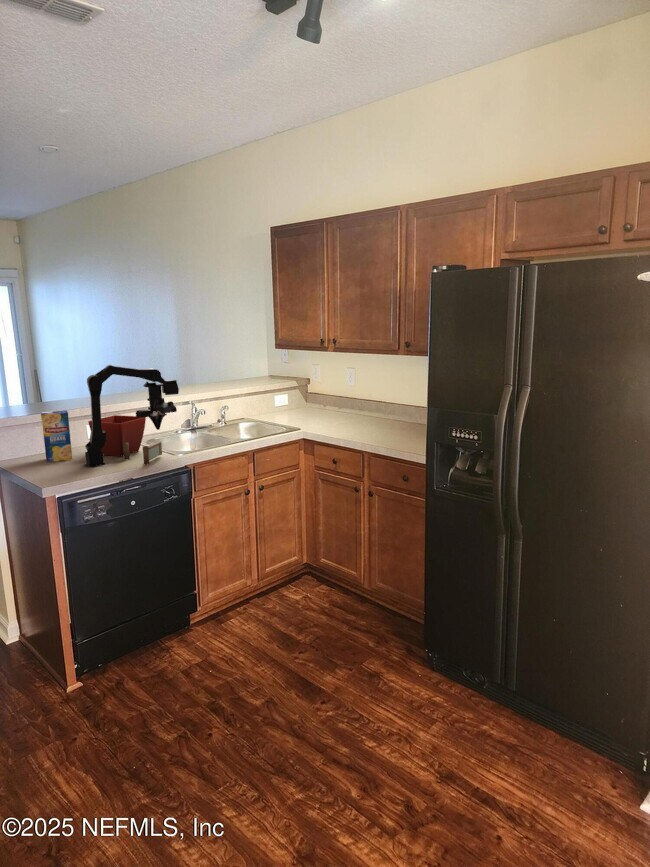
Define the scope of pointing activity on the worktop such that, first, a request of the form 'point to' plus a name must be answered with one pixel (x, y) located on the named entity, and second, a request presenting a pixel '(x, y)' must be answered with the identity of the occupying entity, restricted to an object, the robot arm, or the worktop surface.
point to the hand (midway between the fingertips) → (158, 429)
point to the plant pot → (121, 433)
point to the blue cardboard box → (56, 435)
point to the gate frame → (145, 453)
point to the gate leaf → (155, 450)
